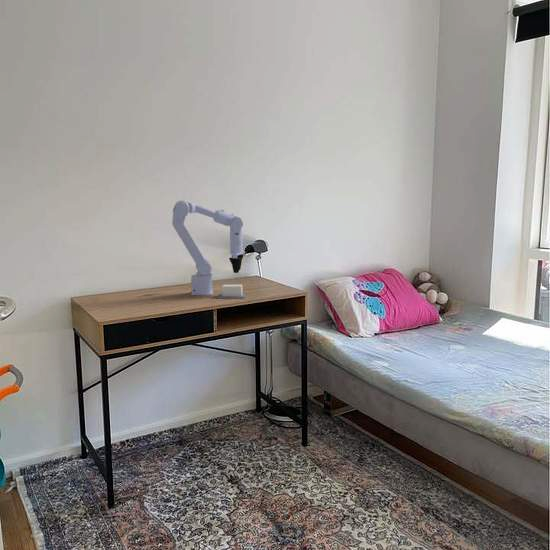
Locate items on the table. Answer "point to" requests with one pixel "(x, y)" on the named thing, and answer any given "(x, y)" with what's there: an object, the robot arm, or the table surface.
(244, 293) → the mat
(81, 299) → the table surface
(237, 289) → the white rectangular block
